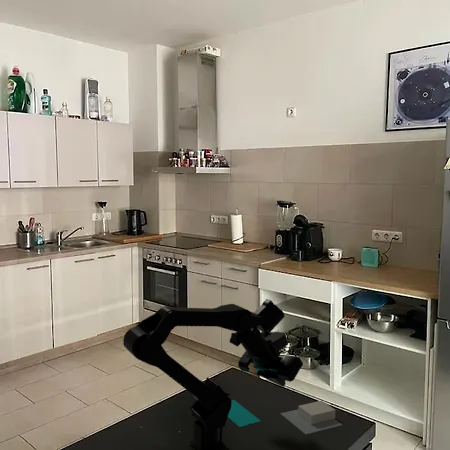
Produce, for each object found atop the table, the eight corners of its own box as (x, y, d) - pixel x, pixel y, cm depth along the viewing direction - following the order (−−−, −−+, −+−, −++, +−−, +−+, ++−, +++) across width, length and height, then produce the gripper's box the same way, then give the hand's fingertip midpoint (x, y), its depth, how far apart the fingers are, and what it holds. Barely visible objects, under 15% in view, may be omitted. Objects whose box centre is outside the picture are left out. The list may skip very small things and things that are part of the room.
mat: (305, 435, 118) (305, 434, 118) (280, 414, 129) (280, 413, 129) (342, 426, 123) (342, 424, 123) (315, 406, 134) (315, 405, 134)
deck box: (311, 415, 123) (335, 409, 126) (298, 405, 128) (321, 400, 132) (311, 424, 123) (335, 418, 126) (298, 414, 128) (321, 409, 132)
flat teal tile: (233, 398, 137) (262, 421, 124) (233, 401, 137) (262, 424, 124) (212, 404, 134) (238, 427, 121) (212, 407, 134) (238, 430, 121)
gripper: (298, 324, 115) (325, 366, 121) (247, 319, 129) (273, 357, 135) (276, 358, 109) (305, 401, 115) (224, 349, 123) (253, 388, 129)
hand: (283, 385), depth 123 cm, fingers closed
